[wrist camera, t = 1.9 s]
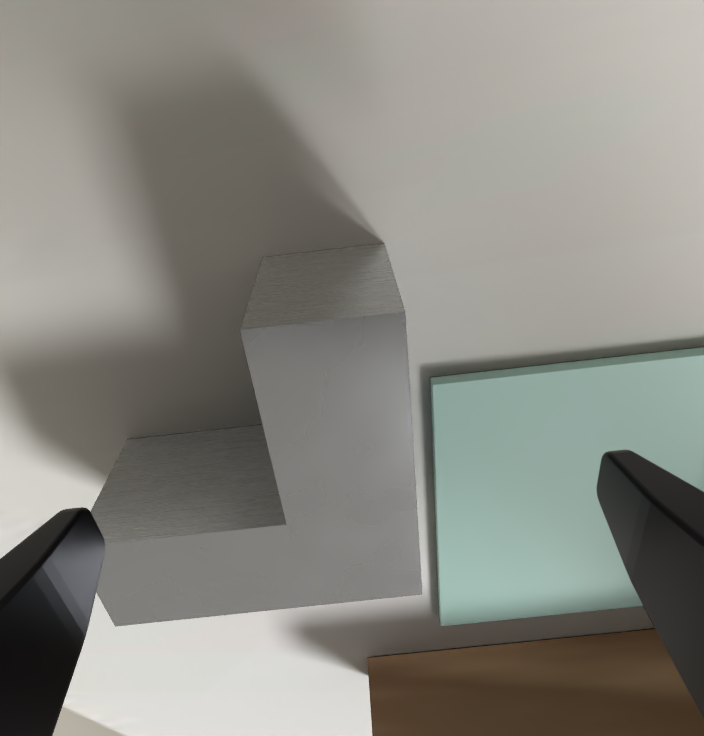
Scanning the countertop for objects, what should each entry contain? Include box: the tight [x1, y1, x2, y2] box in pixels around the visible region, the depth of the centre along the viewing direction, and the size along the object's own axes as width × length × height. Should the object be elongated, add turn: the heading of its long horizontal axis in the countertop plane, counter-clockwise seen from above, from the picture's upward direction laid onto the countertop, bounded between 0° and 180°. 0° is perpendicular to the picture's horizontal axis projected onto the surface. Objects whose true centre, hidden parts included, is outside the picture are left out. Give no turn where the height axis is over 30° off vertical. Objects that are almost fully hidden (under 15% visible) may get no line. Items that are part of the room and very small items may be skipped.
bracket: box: [91, 243, 422, 626], centre depth 13 cm, size 8×8×4 cm
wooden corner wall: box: [368, 629, 704, 736], centre depth 16 cm, size 19×16×4 cm
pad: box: [430, 347, 704, 626], centre depth 17 cm, size 11×10×1 cm
